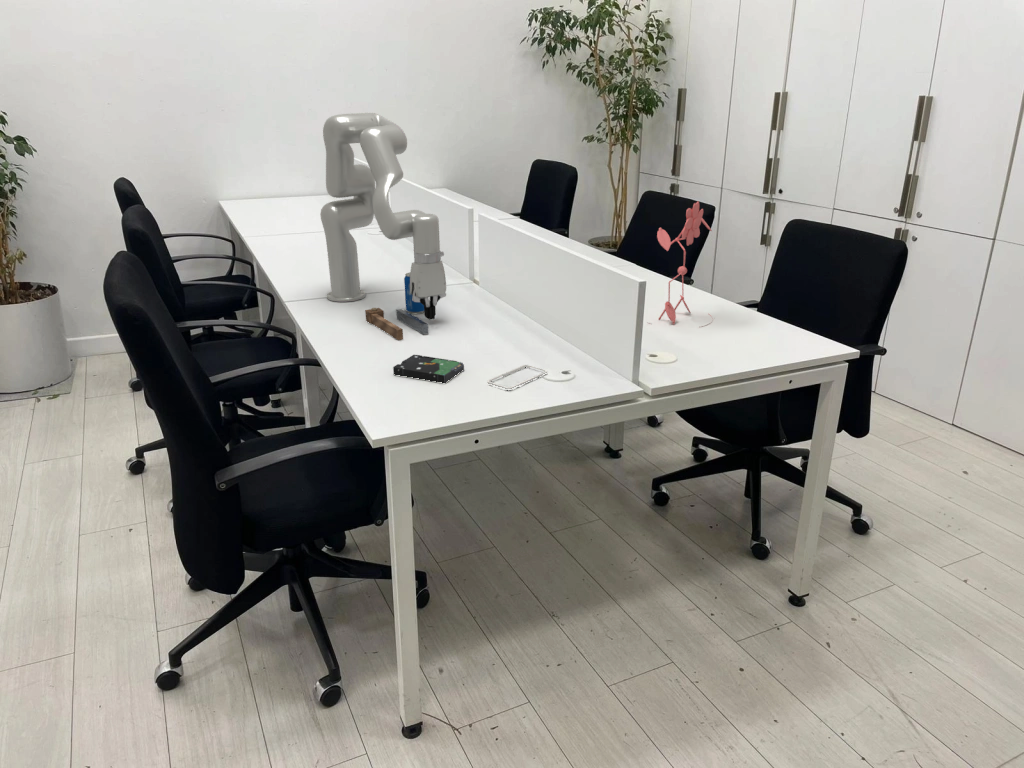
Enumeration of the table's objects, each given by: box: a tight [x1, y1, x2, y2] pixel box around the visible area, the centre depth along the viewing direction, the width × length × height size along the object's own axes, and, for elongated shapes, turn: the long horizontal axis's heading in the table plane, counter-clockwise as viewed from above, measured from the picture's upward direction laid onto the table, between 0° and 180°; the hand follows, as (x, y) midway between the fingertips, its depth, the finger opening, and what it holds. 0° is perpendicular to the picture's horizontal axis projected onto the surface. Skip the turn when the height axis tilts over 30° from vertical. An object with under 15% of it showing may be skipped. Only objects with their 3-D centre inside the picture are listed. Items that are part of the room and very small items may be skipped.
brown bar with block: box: [364, 307, 404, 341], centre depth 225 cm, size 22×4×4 cm, turn 33°
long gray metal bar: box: [395, 308, 429, 335], centre depth 227 cm, size 18×2×3 cm, turn 33°
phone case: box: [486, 364, 548, 389], centre depth 189 cm, size 7×1×15 cm
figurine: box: [646, 200, 713, 328], centre depth 225 cm, size 15×26×35 cm, turn 142°
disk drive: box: [392, 354, 465, 384], centre depth 193 cm, size 10×3×15 cm
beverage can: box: [403, 271, 424, 314], centre depth 240 cm, size 6×6×12 cm
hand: (430, 318), depth 231 cm, fingers closed
